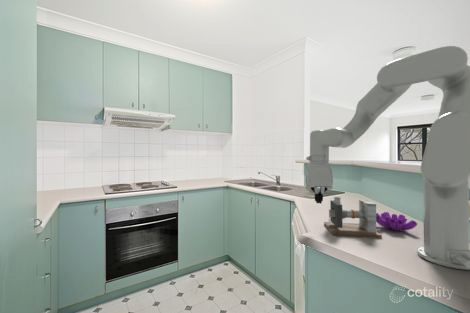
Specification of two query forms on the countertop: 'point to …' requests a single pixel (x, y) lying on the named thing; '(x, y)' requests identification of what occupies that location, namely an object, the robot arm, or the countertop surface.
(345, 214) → the pipe stand
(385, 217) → the purple lumpy piece
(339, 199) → the flask
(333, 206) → the dark grey square panel
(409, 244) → the countertop surface
